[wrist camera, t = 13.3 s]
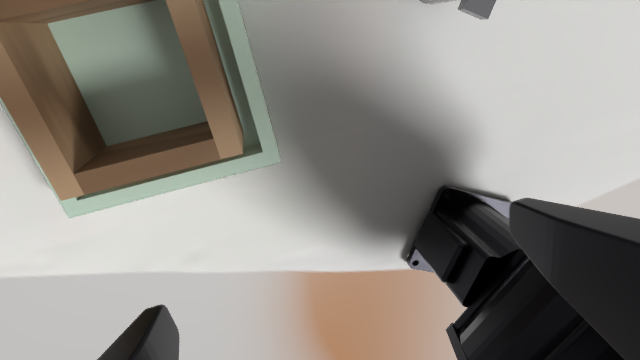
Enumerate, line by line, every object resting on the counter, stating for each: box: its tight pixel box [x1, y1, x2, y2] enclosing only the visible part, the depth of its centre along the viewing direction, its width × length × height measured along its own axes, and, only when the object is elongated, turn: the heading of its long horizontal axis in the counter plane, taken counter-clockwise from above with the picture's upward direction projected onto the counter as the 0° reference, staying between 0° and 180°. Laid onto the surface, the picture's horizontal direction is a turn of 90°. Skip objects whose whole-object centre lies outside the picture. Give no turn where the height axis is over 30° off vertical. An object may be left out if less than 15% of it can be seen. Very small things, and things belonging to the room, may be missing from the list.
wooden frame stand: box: [0, 0, 244, 201], centre depth 15 cm, size 12×8×4 cm, turn 12°
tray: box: [0, 0, 281, 218], centre depth 17 cm, size 15×11×2 cm
